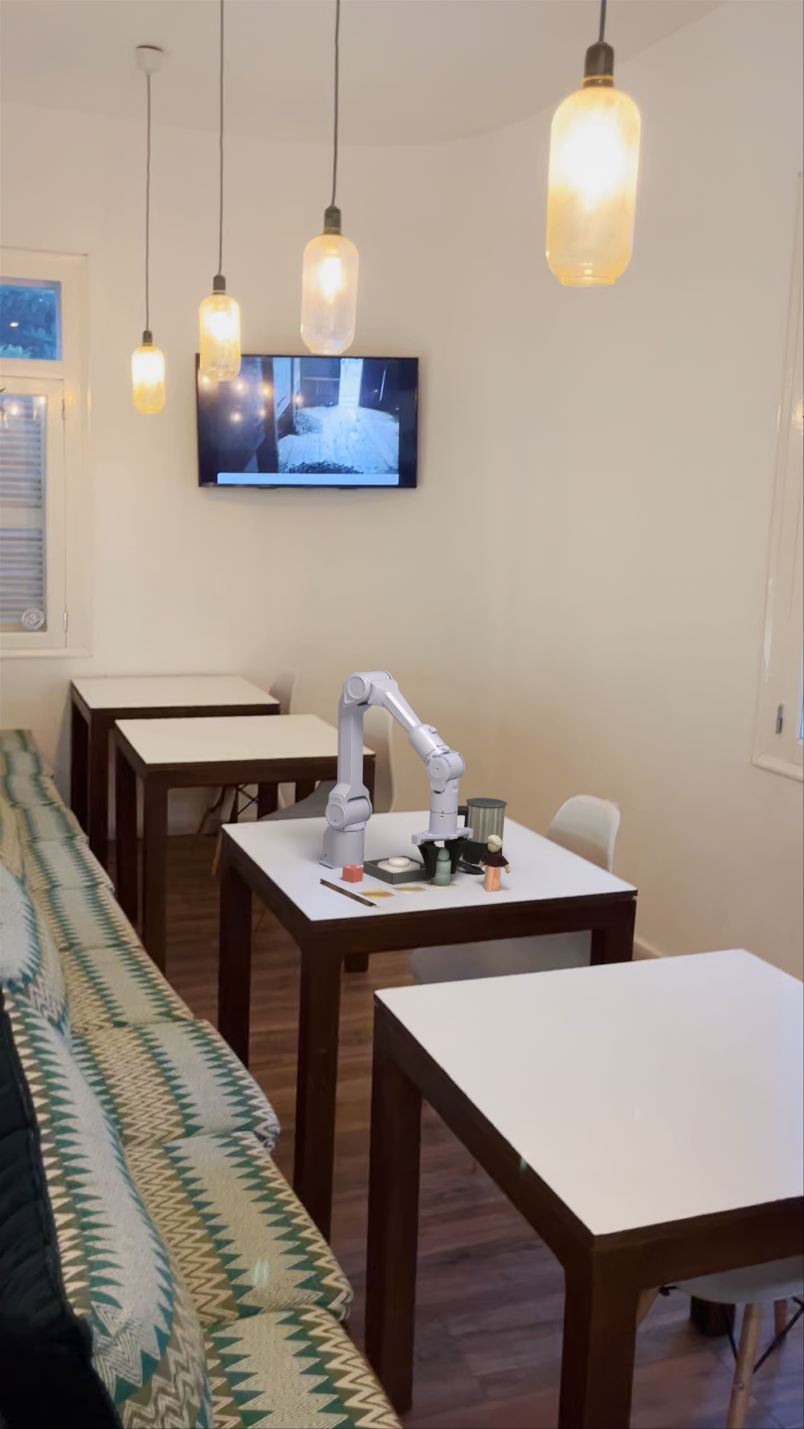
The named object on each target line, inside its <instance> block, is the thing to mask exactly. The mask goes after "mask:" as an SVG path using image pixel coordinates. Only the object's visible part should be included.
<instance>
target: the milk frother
mask: <svg viewBox="0 0 804 1429" xmlns="http://www.w3.org/2000/svg"><path fill="white" fill-rule="evenodd" d="M465 803H466V805H458V813H457V817H459V816H460V817H461V816H463V817H464V822H463V823H464V825H463V828H464V827H468V828H471V829H473V838H464V840H466V841H467V842H468V843H467V847H466V848H465V850H464V851H463V853H462V855H461V858H462V859H463V860H461V859H460V860H459V862H458V865H457V867H459V868H461V869H463V870H465V871H467V872H468V873H470V874H475V875H477V876H481V875H485V869H482V868H483V867H484V866H485V867H486V862H485V863H484V864H483V867H482V868H480V867H479V866H478V864H479V862H480V859H481V857H482V856H483V854H484V853H486V852H487V851H490V850H489V849H488V841H487V840H488V837H489V836H490V835H497V836H499V838H500V839H501V840H502V842H503V843H504V840H503V839H504V825H505V812H506V806H507V805H508V803H507V801H505V800H502V799H498V798H489V797H472V798H467V799H466V800H465ZM443 847H445V842H444V841H443ZM445 848H446V847H445ZM498 852H499V853H500V854H501V855H503V846H502V847H501V848H500V850H499V851H498ZM501 868H504V867H503V866H502V865H501Z"/></svg>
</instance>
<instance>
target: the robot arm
mask: <svg viewBox="0 0 804 1429" xmlns="http://www.w3.org/2000/svg"><path fill="white" fill-rule="evenodd" d="M342 685H343V686H342V693H341V695H340V698H339V701H338V703H337V772H336V773H337V776H336V777H337V781H336V782H337V784H336V785H335V786H334V787H333V788H332V790H331V791H330V792H329V793H328V800H327V801H328V803H327V805H326V807H325V811H324V814H325V815H324V816H325V818H326V819H325V820H326V822H327V823H328V826H327V827H326V829H325V831H324V833H323V839H322V840H323V841H322V859H321V860H319V864H322V865H323V866H326V867H327V868H330V869H333V870H335V869H343V867H345V866H349V865H356V866H363V863H364V861H365V860H364V859H365V858H364V856H365V853H364V852H365V834H366V833H365V832H366V831H365V829H366V827H367V822H368V821H370V819H371V817H372V815H373V805H372V802H371V799H370V791H369V789H368V788H367V787H366V786H365V785H364V783H363V778H364V777H363V774H364V773H363V772H364V770H363V769H364V761H363V760H364V756H363V755H364V713H365V712H367V710H368V709H370V708H371V707H372V706H378V707H381V708H384V709H386V710H387V711H388V713H390V715H391V716H392V717H393V718H394V719H395V720H396V722H398V724H400V726H401V727H403V730H405V731H406V732H407V733H408V736H407V737H408V738H407V742H408V744H409V745H410V746H411V747H412V749H413V750H414V751H415V752H416V754H417V755H418V756H419V758H420V760H421V761H422V762H423V763H424V764H425V765H426V766H425V772H426V776H427V777H428V779H429V787H430V805H429V823H428V829H427V830H423V831H421V832H417V833H412V834H411V845H412V844H413V845H415V846H417V848H418V850H419V853H420V854H421V857H422V859H423V860H422V862H423V863H424V864H425V869H426V874H427V876H429V877H432V878H433V877H435V875H436V864H437V858H438V854H439V851H440V847H441V846H438V845H436V842H437V843H439V842H443V843H444V842H445V847H446V849H447V850H448V851H449V858H448V859H450V860H451V874H450V875H455V874H456V871H457V868H458V862H459V860H461V858H462V853H463V851H464V850H465V848H466V847H467V843H468V842H467V841H466V840H464V838H473V829H471V828H468V827H464V826H463V827H458V816H457V813H458V806H459V792H460V791H459V788H460V778H461V777H462V776H463V775H464V773H465V771H466V763H465V760H464V757H463V756H462V754H461V753H460V752H458V751H455V750H452V749H451V748H450V747H449V746H448V745H446V743H445V742H444V741H443V739H442V738H441V737H440V735H439V734H438V733H437V732H438V730H437V728H435V727H434V726H431V725H430V724H427V723H426V724H425V723H422V722H421V721H420V719H419V718H418V716H417V715H416V713H415V712H414V710H413V709H412V707H410V705H409V703H408V702H407V700H406V699H405V697H404V696H403V694H402V693H401V692H400V690H399V684H398V682H397V681H396V680H395V679H394V677H393V676H392V674H391V673H390V672H389V671H386V670H383V669H378V670H373V671H363V672H360V671H357V672H353V673H351V674H350V675H348V676H347V677H346V678H345V679H344V680H343V682H342Z"/></svg>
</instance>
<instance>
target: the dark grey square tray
mask: <svg viewBox="0 0 804 1429" xmlns="http://www.w3.org/2000/svg"><path fill="white" fill-rule="evenodd" d="M396 857H404V858H408V859H409V861H413V862H416V863H418V864H419V865H420V869H417V870H410V871H403V872H396V873H392V872H389V871H387V870H385V869H382V868H380V867H378V863H379V862H381V861H385V860H389V858H391V856H390V857H383V858H378V859H377V858H376V859H370V860H364V861H363V865H362V867H363V874H365V875H367V876H371V877H373V878H374V879H377V880H378V881H380V882H384V883H386V884H389V885H392V886H397V885H403V884H410V883H414V882H419V881H421V882H423V881H429V880H431V877H429V876H427V874H426V869H425V864H424V861H420V860H417V859H415V858H414V857H413V858H412V857H410V856H408V855H398V856H397V855H396Z"/></svg>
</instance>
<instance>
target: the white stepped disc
mask: <svg viewBox="0 0 804 1429" xmlns="http://www.w3.org/2000/svg"><path fill="white" fill-rule="evenodd" d="M390 857H391V856H390ZM390 857H388V858H389V860H385V861H381V862H379V863H378V867H380V868H382V869H385V870H387V871H389V872H392V873H396V872H403V871H410V870H417V869H420V865H419V864H418V863H416V862H413V861H409V859H408V858H404V857H397V856H392V857H391V858H390Z"/></svg>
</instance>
